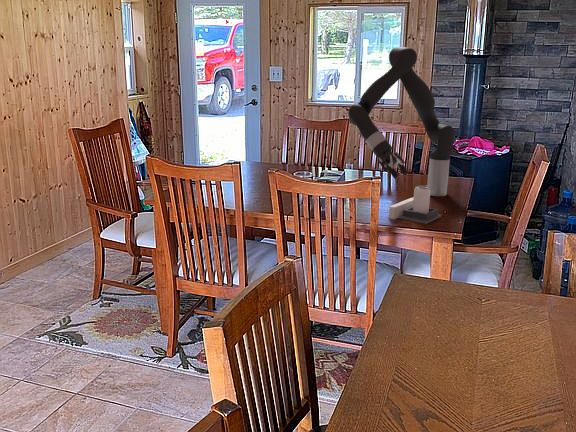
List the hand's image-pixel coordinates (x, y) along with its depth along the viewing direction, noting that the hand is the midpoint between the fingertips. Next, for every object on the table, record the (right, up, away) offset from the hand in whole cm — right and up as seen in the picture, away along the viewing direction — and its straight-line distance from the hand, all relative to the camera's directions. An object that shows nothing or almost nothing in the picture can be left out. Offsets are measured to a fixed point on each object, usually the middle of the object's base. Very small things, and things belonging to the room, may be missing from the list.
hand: (401, 175), depth 237 cm
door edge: (+1, -16, +4) cm, 16 cm away
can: (+7, -17, -1) cm, 18 cm away
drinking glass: (-33, -14, +9) cm, 37 cm away
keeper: (+7, -17, -1) cm, 19 cm away
